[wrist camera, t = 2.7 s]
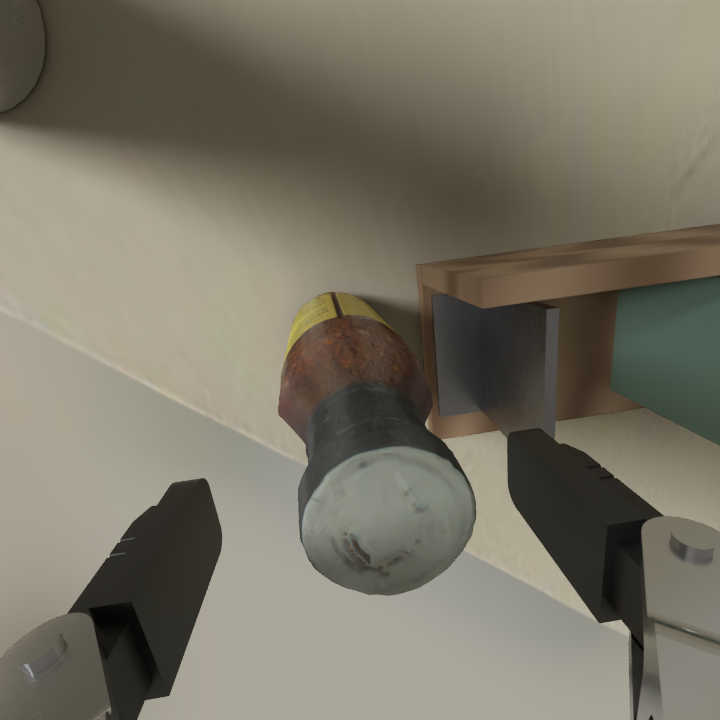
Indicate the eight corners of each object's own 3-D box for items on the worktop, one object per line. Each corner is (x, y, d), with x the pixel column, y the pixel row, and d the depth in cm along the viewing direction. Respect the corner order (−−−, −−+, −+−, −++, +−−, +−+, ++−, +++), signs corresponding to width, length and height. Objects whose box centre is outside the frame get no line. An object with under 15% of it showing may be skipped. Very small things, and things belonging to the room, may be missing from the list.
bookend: (439, 415, 28) (484, 485, 20) (431, 295, 25) (480, 318, 17) (488, 408, 28) (553, 473, 20) (485, 287, 26) (559, 307, 17)
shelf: (428, 431, 30) (488, 537, 19) (416, 264, 26) (481, 279, 15) (713, 387, 31) (923, 464, 20) (741, 220, 27) (1021, 205, 16)
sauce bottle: (297, 376, 28) (236, 659, 9) (288, 291, 26) (186, 417, 7) (385, 369, 28) (505, 624, 9) (382, 285, 26) (525, 390, 7)
